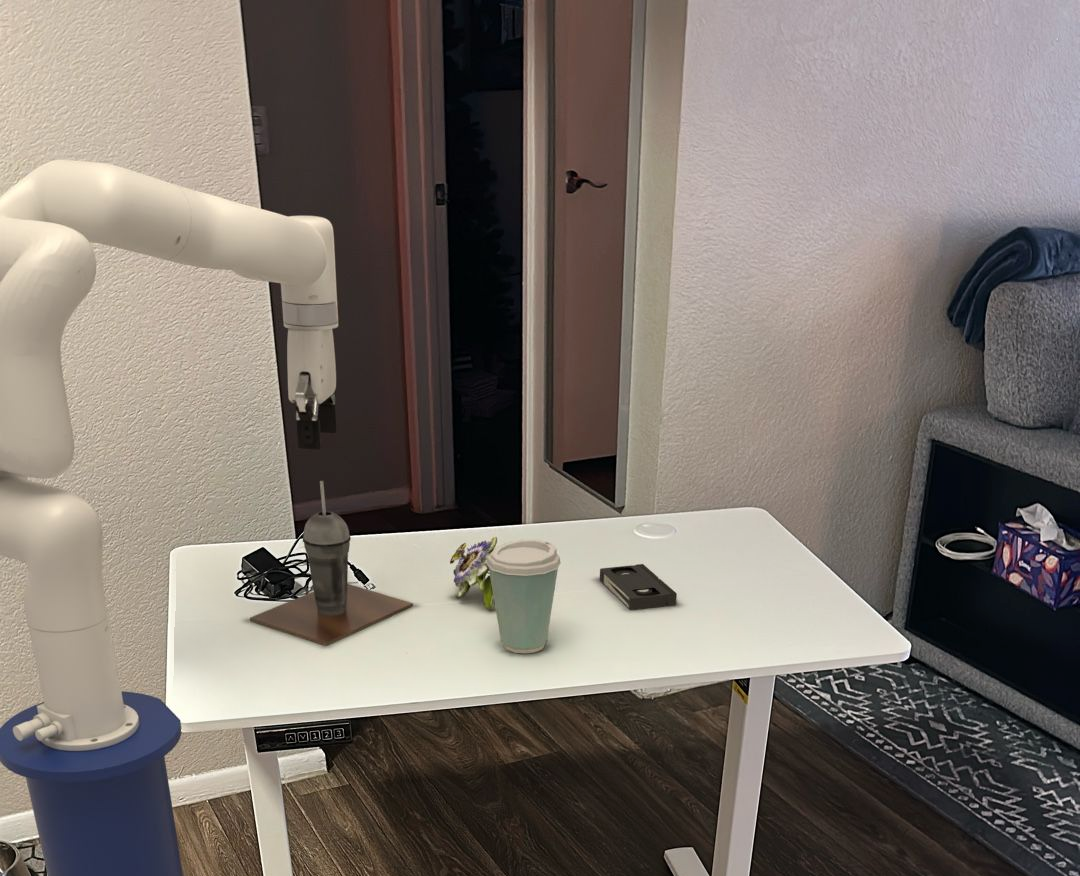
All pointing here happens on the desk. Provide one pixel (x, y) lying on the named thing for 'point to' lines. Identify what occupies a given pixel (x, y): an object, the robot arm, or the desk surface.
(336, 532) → the beverage cup
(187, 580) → the desk surface
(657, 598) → the vhs tape
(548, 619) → the disposable coffee cup
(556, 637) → the desk surface
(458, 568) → the passion flower
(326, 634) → the walnut board
